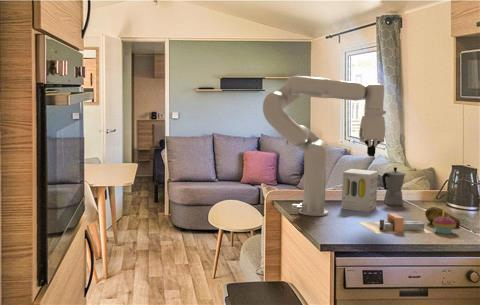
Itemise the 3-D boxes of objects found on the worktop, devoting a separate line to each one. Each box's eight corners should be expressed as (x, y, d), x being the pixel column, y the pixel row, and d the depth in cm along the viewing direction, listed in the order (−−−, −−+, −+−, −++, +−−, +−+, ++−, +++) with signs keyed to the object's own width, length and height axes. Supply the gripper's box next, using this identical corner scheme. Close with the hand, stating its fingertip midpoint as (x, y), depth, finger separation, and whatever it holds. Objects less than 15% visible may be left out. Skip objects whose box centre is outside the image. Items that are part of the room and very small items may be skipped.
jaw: (387, 229, 209) (387, 222, 209) (385, 228, 211) (385, 221, 210) (421, 229, 211) (421, 222, 211) (419, 227, 213) (419, 220, 213)
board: (375, 236, 203) (375, 233, 203) (357, 225, 221) (357, 222, 220) (432, 235, 207) (432, 232, 206) (410, 224, 224) (410, 221, 224)
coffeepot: (394, 200, 275) (396, 165, 273) (409, 203, 268) (412, 167, 266) (373, 203, 267) (375, 167, 265) (388, 206, 259) (390, 169, 257)
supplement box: (340, 208, 251) (342, 171, 250) (349, 204, 263) (351, 168, 261) (368, 212, 245) (370, 174, 243) (376, 207, 257) (378, 171, 255)
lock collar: (395, 231, 206) (396, 217, 205) (386, 227, 213) (387, 213, 212) (402, 231, 206) (403, 217, 205) (394, 226, 213) (394, 213, 213)
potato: (452, 232, 213) (453, 212, 212) (421, 226, 222) (422, 206, 221) (461, 229, 218) (462, 209, 217) (431, 223, 227) (432, 204, 227)
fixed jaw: (382, 231, 206) (383, 222, 206) (378, 228, 210) (379, 219, 210) (424, 230, 209) (424, 221, 209) (419, 228, 213) (419, 219, 213)
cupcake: (427, 232, 212) (429, 201, 211) (448, 232, 213) (450, 202, 212) (437, 237, 204) (439, 206, 202) (459, 237, 204) (461, 206, 203)
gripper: (386, 113, 235) (384, 155, 237) (353, 112, 233) (351, 154, 235) (394, 113, 227) (391, 157, 229) (359, 112, 225) (357, 156, 227)
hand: (371, 155), depth 232 cm, fingers closed
